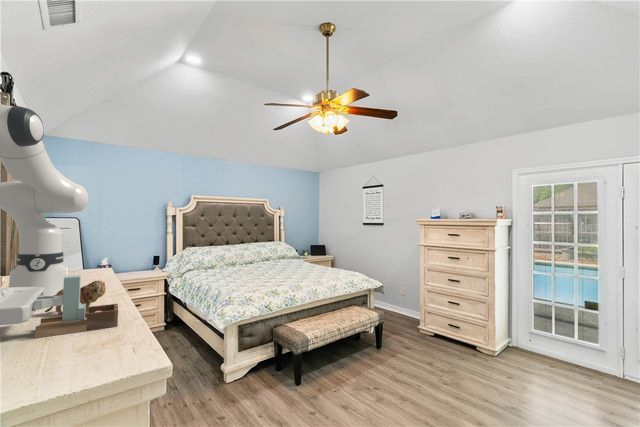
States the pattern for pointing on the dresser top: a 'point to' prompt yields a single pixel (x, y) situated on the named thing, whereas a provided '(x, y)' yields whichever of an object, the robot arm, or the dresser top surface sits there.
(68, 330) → the lane
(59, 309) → the lion figurine
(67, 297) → the grey-green l-shaped block
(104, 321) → the dark brown open box
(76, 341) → the dresser top surface
